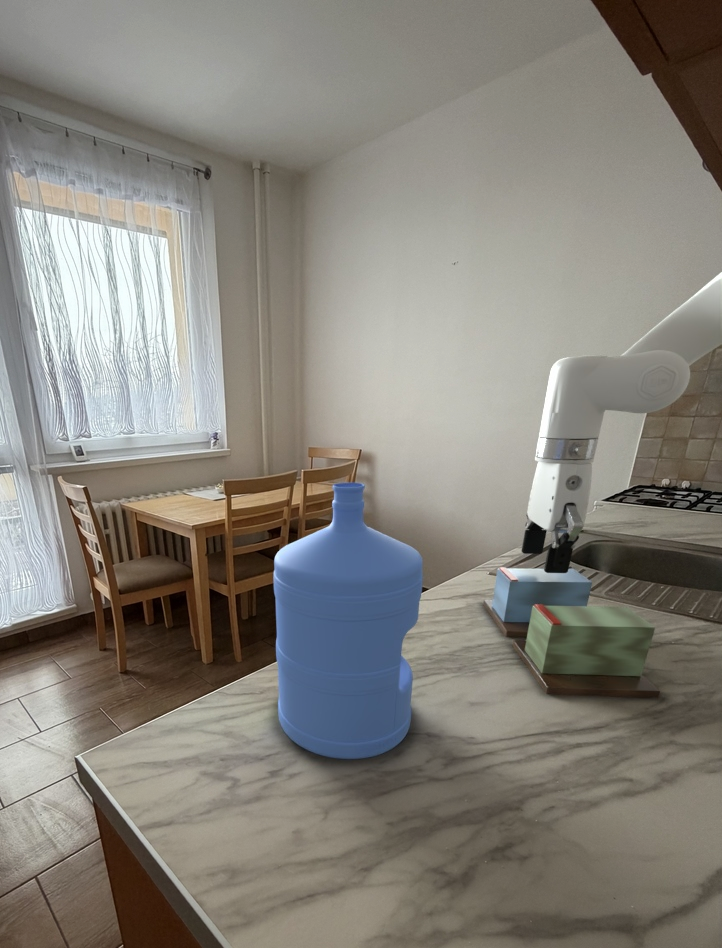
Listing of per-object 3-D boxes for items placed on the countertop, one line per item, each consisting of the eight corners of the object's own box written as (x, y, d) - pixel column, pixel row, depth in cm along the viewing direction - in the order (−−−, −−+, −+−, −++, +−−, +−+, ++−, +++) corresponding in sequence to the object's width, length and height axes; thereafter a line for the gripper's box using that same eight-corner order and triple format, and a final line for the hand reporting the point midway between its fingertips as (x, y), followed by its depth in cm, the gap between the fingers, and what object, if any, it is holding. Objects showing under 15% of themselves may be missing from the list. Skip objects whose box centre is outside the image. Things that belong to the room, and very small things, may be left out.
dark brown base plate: (558, 608, 86) (560, 600, 85) (594, 641, 74) (596, 632, 74) (482, 607, 88) (483, 599, 87) (505, 639, 76) (506, 631, 75)
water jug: (313, 781, 49) (312, 507, 38) (260, 700, 63) (248, 481, 52) (438, 740, 54) (468, 488, 44) (364, 674, 68) (373, 470, 57)
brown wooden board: (604, 651, 71) (606, 642, 71) (657, 701, 59) (660, 691, 59) (511, 648, 73) (513, 639, 72) (545, 697, 61) (547, 687, 61)
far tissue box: (565, 607, 83) (573, 567, 80) (583, 623, 77) (592, 580, 74) (491, 606, 84) (497, 566, 81) (503, 622, 78) (510, 580, 75)
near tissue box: (614, 652, 68) (626, 604, 65) (641, 676, 62) (656, 625, 59) (524, 650, 69) (532, 603, 67) (541, 673, 63) (552, 623, 61)
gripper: (625, 457, 62) (594, 581, 69) (566, 445, 78) (546, 547, 84) (563, 457, 63) (538, 580, 70) (517, 445, 79) (501, 546, 85)
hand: (542, 562), depth 77 cm, fingers open, 9 cm apart
